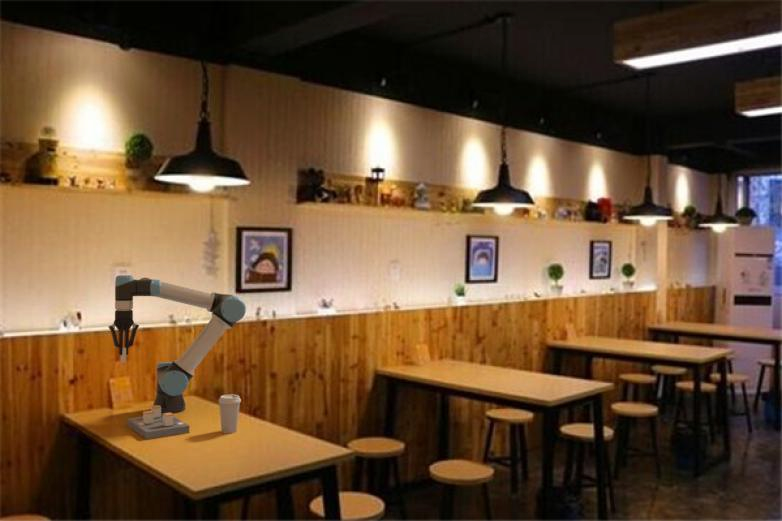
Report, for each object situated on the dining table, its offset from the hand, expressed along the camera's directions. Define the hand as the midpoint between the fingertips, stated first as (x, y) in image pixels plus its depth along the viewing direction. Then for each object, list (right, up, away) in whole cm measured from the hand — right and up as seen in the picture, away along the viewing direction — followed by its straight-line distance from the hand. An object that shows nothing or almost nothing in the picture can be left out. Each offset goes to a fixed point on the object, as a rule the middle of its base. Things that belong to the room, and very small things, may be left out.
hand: (123, 362), depth 309 cm
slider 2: (+26, -24, -17) cm, 39 cm away
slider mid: (+16, -24, -14) cm, 32 cm away
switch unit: (+19, -27, -12) cm, 35 cm away
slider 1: (+16, -24, -4) cm, 29 cm away
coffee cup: (+51, -28, -13) cm, 59 cm away
